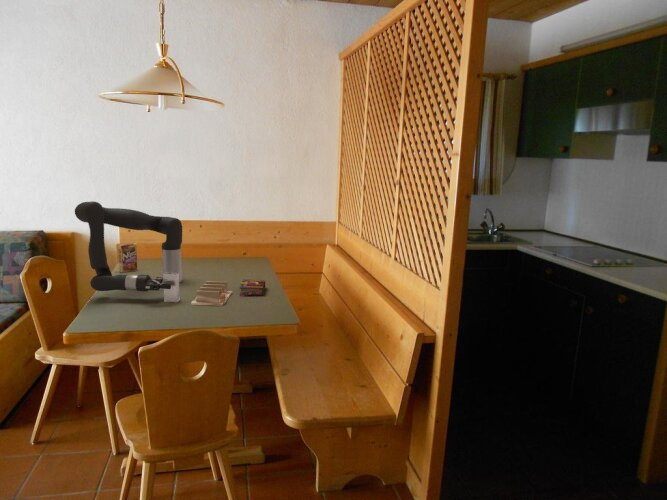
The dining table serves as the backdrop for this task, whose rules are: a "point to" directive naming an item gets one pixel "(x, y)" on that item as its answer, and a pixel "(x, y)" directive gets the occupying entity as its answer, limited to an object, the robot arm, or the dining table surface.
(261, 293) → the decorative book
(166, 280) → the aluminium block
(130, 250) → the candy box
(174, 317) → the dining table surface
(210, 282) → the slot rack
